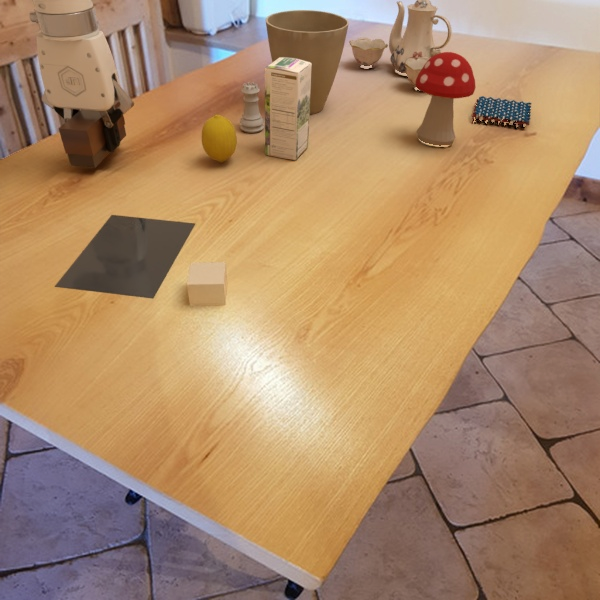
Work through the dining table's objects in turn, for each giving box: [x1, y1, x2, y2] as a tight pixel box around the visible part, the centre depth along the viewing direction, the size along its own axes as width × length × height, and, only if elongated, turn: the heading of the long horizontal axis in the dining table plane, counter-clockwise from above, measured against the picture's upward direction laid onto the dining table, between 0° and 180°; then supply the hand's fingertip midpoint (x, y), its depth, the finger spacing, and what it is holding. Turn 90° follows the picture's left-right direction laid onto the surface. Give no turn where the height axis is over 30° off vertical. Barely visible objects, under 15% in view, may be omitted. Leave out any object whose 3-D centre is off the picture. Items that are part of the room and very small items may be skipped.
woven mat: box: [471, 95, 532, 127], centre depth 106 cm, size 10×11×2 cm
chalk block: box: [186, 261, 228, 307], centre depth 62 cm, size 4×4×4 cm
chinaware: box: [348, 0, 453, 87], centre depth 119 cm, size 28×17×17 cm, turn 42°
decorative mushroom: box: [415, 51, 476, 146], centre depth 93 cm, size 10×9×15 cm
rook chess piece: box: [239, 81, 265, 134], centre depth 98 cm, size 4×4×8 cm
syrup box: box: [264, 57, 312, 161], centre depth 89 cm, size 6×6×14 cm
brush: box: [58, 100, 127, 169], centre depth 86 cm, size 12×4×6 cm, turn 171°
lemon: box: [201, 113, 238, 164], centre depth 87 cm, size 6×6×8 cm
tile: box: [54, 214, 196, 299], centre depth 69 cm, size 12×16×1 cm
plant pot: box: [265, 9, 350, 115], centre depth 103 cm, size 15×15×16 cm
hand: (98, 146), depth 87 cm, fingers closed on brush, 4 cm apart
